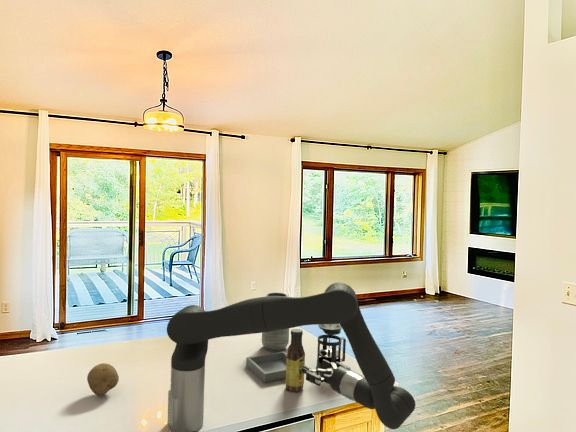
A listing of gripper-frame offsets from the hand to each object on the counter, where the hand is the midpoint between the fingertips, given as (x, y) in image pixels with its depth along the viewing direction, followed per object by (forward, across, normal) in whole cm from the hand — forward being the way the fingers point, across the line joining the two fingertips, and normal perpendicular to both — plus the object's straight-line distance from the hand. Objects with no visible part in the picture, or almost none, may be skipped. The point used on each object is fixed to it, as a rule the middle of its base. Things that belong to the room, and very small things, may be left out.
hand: (312, 365), depth 135 cm
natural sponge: (+39, +54, +11) cm, 67 cm away
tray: (+23, -3, +11) cm, 26 cm away
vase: (+42, -17, +11) cm, 47 cm away
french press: (+13, -21, +11) cm, 27 cm away
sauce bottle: (+8, 0, +11) cm, 14 cm away
